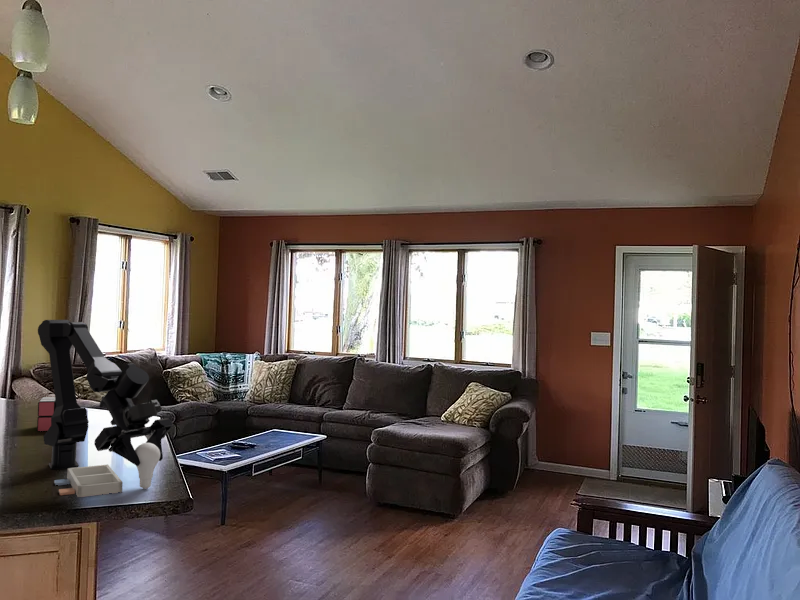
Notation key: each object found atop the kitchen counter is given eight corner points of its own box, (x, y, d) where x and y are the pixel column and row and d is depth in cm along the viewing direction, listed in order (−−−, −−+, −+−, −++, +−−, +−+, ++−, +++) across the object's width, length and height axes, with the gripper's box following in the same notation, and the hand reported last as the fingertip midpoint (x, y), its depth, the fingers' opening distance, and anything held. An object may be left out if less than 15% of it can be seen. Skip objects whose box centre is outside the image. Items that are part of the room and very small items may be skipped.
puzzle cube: (70, 431, 220) (72, 401, 220) (36, 432, 217) (38, 401, 217) (73, 425, 230) (74, 396, 230) (40, 426, 226) (42, 397, 226)
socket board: (52, 479, 163) (53, 469, 163) (107, 473, 170) (108, 464, 170) (62, 499, 148) (62, 488, 148) (122, 492, 155) (122, 482, 155)
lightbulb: (162, 485, 162) (164, 440, 162) (153, 493, 156) (155, 446, 156) (136, 485, 162) (139, 439, 162) (127, 492, 156) (129, 445, 156)
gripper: (104, 393, 153) (132, 448, 147) (170, 386, 169) (198, 435, 163) (81, 423, 157) (109, 477, 151) (148, 413, 173) (175, 462, 167)
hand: (150, 462), depth 158 cm, fingers closed on lightbulb, 6 cm apart
